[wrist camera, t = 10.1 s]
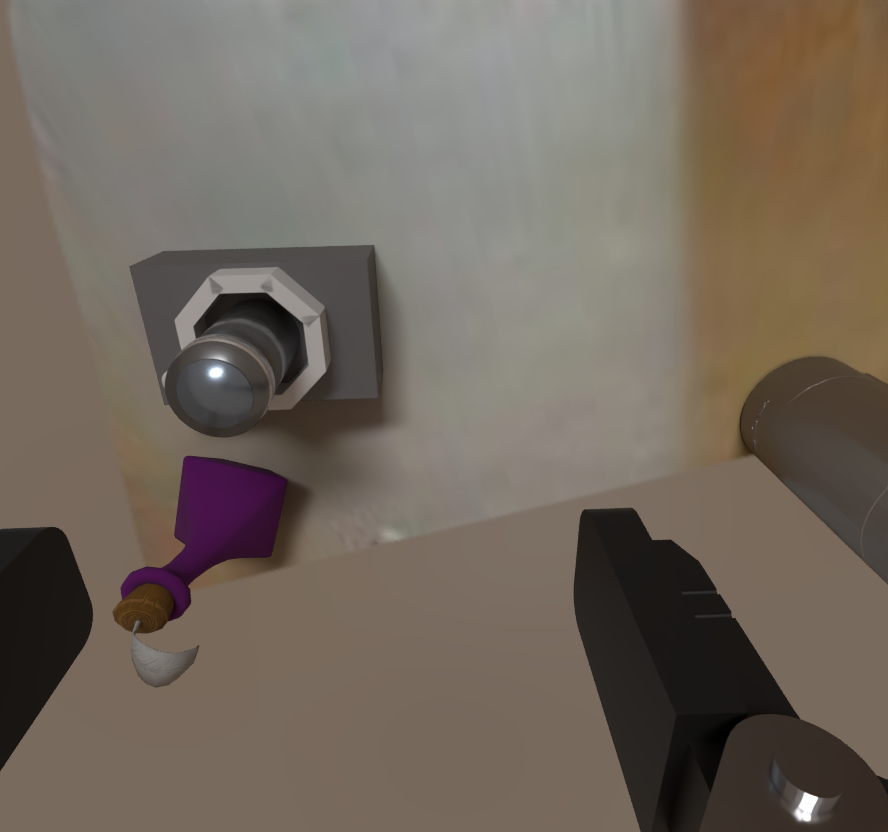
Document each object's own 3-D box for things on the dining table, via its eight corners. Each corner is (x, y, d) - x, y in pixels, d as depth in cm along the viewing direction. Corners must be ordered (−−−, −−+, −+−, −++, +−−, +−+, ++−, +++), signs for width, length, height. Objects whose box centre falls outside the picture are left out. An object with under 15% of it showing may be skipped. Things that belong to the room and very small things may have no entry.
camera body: (373, 245, 39) (363, 266, 33) (383, 370, 43) (375, 410, 37) (163, 251, 39) (113, 273, 33) (192, 376, 43) (151, 418, 37)
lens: (295, 294, 36) (257, 342, 27) (306, 371, 38) (275, 437, 30) (212, 298, 36) (149, 348, 27) (228, 375, 38) (175, 442, 29)
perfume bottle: (189, 512, 48) (68, 704, 32) (199, 434, 45) (72, 603, 29) (280, 532, 49) (208, 727, 33) (296, 457, 46) (226, 632, 30)
